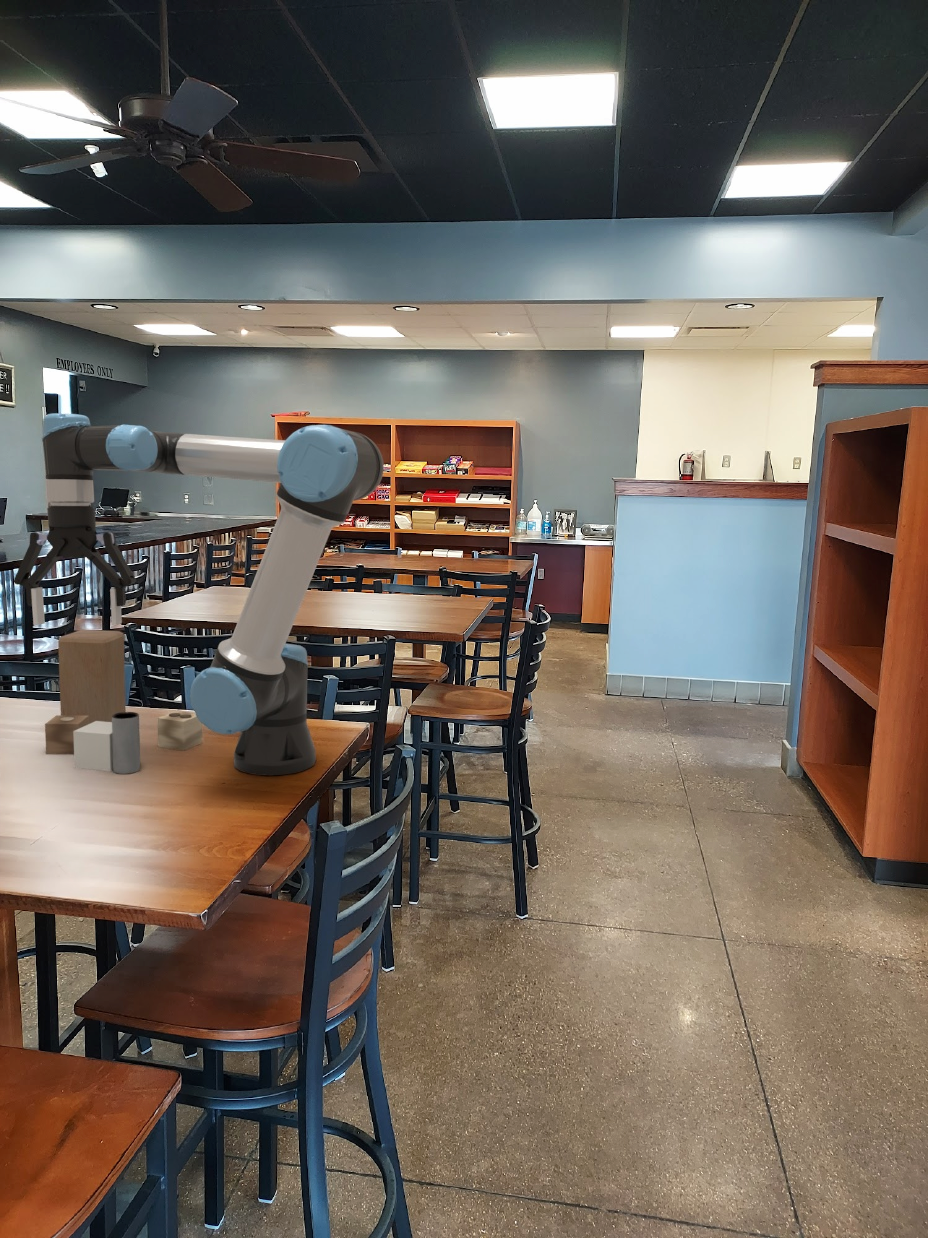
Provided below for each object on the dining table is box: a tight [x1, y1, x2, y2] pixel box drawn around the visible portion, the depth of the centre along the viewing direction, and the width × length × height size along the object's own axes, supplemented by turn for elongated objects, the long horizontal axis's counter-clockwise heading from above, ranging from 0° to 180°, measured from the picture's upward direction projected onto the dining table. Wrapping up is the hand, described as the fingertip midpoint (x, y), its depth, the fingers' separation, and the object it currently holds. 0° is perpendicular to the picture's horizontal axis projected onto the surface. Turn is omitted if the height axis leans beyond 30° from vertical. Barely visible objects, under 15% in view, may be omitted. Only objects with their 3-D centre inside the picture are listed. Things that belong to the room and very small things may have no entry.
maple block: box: [157, 710, 203, 752], centre depth 163 cm, size 6×6×6 cm
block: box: [57, 629, 127, 724], centre depth 172 cm, size 10×10×20 cm
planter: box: [112, 711, 141, 775], centre depth 146 cm, size 4×4×10 cm
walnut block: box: [44, 714, 89, 755], centre depth 157 cm, size 6×6×6 cm
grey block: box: [73, 721, 113, 772], centre depth 150 cm, size 7×7×7 cm
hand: (78, 624), depth 145 cm, fingers open, 13 cm apart
